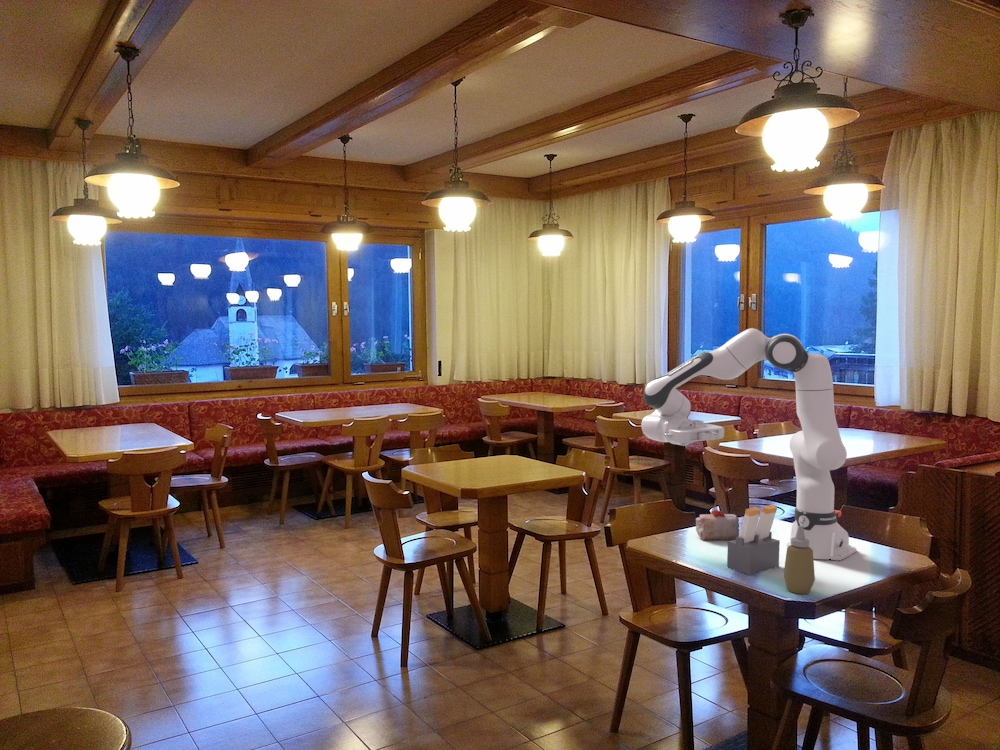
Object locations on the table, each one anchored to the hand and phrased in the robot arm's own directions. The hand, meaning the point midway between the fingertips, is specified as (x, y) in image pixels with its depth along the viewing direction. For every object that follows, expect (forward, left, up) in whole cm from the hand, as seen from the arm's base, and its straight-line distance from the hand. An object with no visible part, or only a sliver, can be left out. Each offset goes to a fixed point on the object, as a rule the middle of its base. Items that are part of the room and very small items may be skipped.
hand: (716, 437), depth 237 cm
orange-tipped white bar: (-6, +13, -29) cm, 32 cm away
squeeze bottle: (+5, +33, -38) cm, 51 cm away
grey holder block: (-2, +13, -38) cm, 40 cm away
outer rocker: (+2, +13, -29) cm, 32 cm away
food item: (-18, -13, -38) cm, 44 cm away
